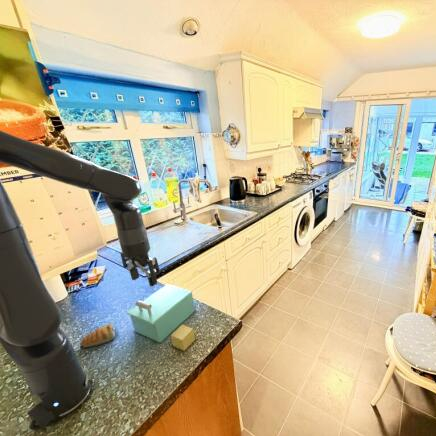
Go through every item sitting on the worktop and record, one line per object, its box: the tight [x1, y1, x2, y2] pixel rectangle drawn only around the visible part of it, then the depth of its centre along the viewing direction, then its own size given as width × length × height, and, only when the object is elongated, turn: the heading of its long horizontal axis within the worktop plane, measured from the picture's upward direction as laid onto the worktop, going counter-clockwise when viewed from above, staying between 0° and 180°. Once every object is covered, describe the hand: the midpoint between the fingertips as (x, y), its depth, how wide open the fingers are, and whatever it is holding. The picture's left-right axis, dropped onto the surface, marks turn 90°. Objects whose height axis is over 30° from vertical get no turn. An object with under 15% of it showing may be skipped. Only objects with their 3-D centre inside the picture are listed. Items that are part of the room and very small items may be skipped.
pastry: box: [79, 323, 116, 348], centre depth 82 cm, size 9×7×4 cm
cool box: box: [129, 292, 196, 343], centre depth 89 cm, size 17×13×9 cm
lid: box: [126, 283, 193, 325], centre depth 86 cm, size 17×13×5 cm
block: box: [170, 324, 196, 352], centre depth 81 cm, size 5×5×5 cm
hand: (144, 281), depth 79 cm, fingers open, 8 cm apart
